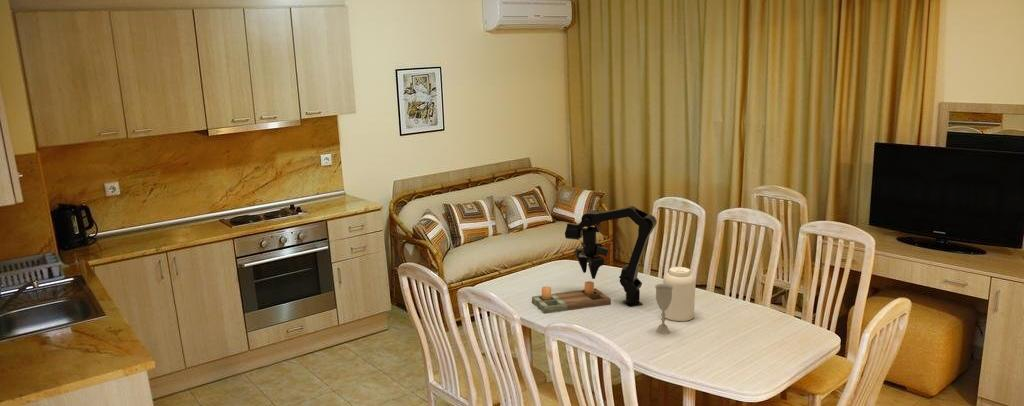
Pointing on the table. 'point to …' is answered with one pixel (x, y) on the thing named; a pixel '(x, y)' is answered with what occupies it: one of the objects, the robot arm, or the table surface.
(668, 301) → the chalice
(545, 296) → the model pin
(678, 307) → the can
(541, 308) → the pin board
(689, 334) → the table surface
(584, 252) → the robot arm
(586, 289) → the orange pin
